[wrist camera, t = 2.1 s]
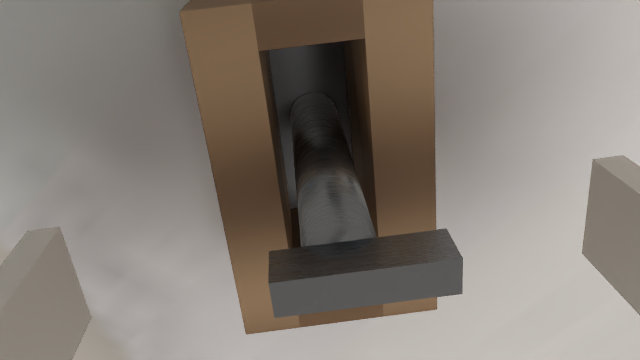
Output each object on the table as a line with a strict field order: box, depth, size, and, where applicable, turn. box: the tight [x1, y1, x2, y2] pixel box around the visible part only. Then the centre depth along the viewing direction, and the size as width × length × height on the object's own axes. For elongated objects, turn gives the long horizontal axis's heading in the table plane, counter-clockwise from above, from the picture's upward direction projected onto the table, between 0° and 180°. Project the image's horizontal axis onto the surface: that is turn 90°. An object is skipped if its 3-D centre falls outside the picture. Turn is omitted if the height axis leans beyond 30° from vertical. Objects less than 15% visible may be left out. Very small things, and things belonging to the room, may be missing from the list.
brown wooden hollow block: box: [179, 0, 437, 334], centre depth 19 cm, size 12×6×6 cm, turn 6°
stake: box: [268, 93, 463, 318], centre depth 17 cm, size 2×4×11 cm, turn 96°
